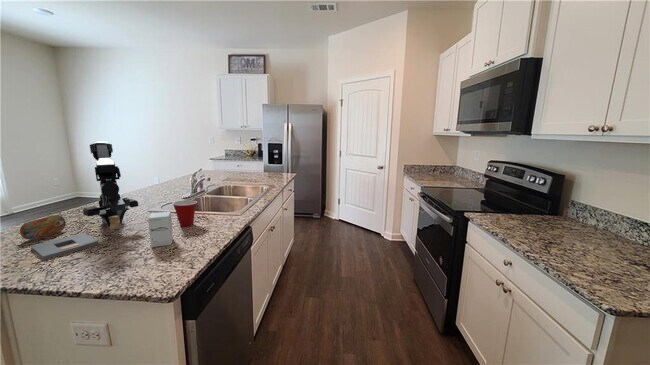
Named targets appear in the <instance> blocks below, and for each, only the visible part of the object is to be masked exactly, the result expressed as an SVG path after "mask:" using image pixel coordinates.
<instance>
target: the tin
mask: <svg viewBox="0 0 650 365" xmlns="http://www.w3.org/2000/svg"><path fill="white" fill-rule="evenodd" d="M66 224H67V222H66V220H65V218H64V217H63V216H62V215H58V214H56V215H54V214H52V215H46V216H43V217H40V218H36V219H33V220H29V221H26V222H25V223H23V224H22V225H21V226H20V229H19V234H20V236H21V237H22V238H23V239H25V240H29V241H36V240H41V239H44V238H47V237H50V236H52V235H56V234H58V233H61V232H62V231H63V230H64V229H65V227H66Z"/></svg>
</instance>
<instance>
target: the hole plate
mask: <svg viewBox="0 0 650 365" xmlns="http://www.w3.org/2000/svg"><path fill="white" fill-rule="evenodd" d="M99 245H100V243H99V241H98V240H97V239H96V238H93V237H92V236H90V235H88V234H87V233H84V232H81V233H78V234H73V235H69V236H65V237H61V238H58V239H52V240H49V241H45V242H41V243H37V244H34V245H33V244H32V245H30V249H31V251H32V252H34V253H35V254H36V255H37V256H38V257H39V258H40V259H42V260H43V261H46V260H47V261H48V260H50V259H53V258H56V257H57V258H58V257H60V256H64V255H67V254H70V253H74V252H77V251H81V250H84V249H87V248H92V247H95V246H99Z"/></svg>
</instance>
